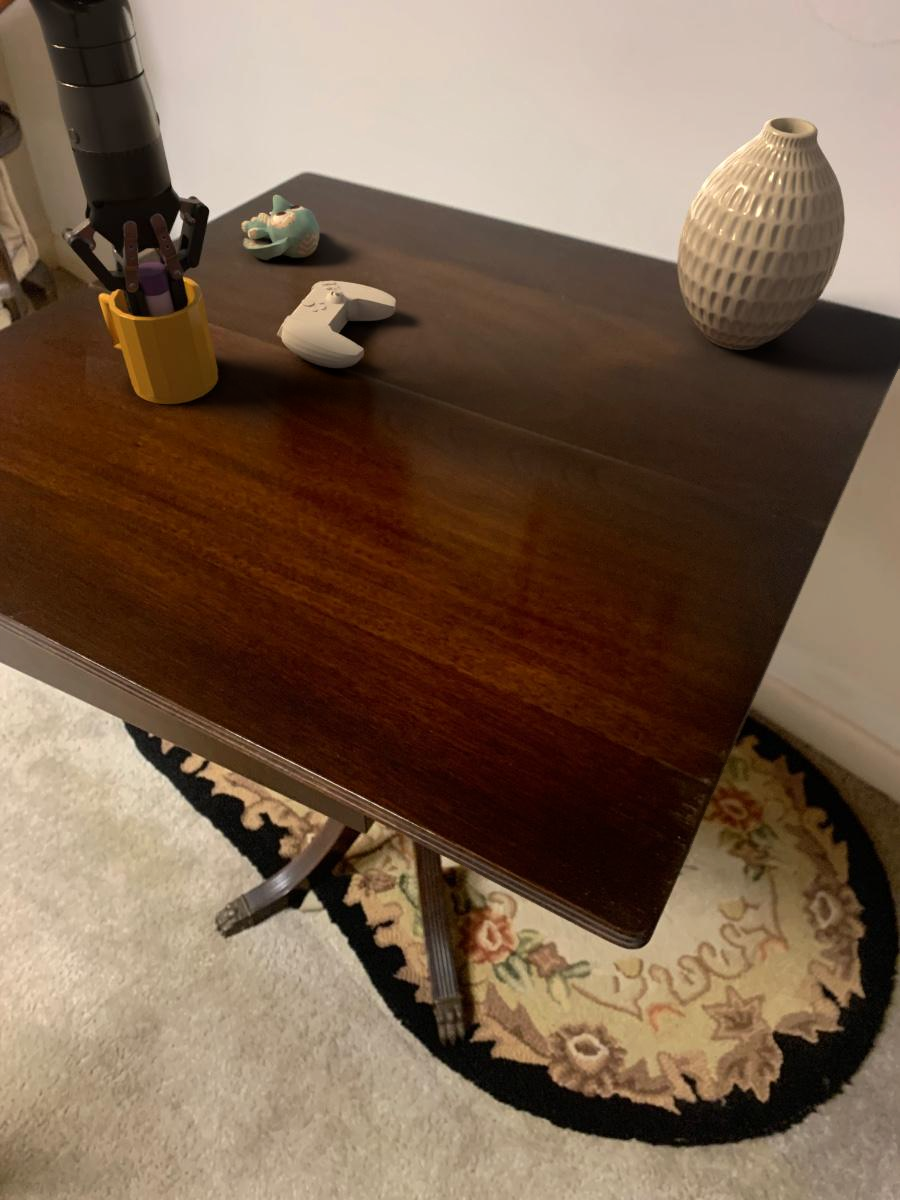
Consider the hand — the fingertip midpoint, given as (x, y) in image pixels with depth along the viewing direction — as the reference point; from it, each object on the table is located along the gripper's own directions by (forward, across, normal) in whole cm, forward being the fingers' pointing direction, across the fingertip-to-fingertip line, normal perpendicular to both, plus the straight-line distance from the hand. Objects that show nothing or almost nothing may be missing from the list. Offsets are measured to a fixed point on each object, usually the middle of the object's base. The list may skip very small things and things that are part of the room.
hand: (160, 315), depth 88 cm
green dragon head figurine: (+8, -23, -20) cm, 32 cm away
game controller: (+8, -18, +2) cm, 20 cm away
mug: (+7, +1, -1) cm, 8 cm away
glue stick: (+5, 0, 0) cm, 5 cm away
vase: (+8, -56, +27) cm, 63 cm away
